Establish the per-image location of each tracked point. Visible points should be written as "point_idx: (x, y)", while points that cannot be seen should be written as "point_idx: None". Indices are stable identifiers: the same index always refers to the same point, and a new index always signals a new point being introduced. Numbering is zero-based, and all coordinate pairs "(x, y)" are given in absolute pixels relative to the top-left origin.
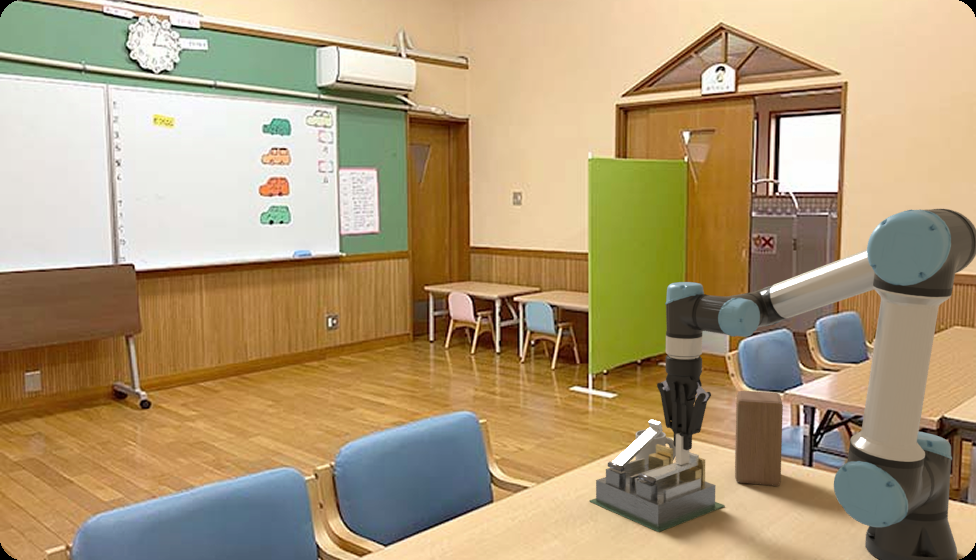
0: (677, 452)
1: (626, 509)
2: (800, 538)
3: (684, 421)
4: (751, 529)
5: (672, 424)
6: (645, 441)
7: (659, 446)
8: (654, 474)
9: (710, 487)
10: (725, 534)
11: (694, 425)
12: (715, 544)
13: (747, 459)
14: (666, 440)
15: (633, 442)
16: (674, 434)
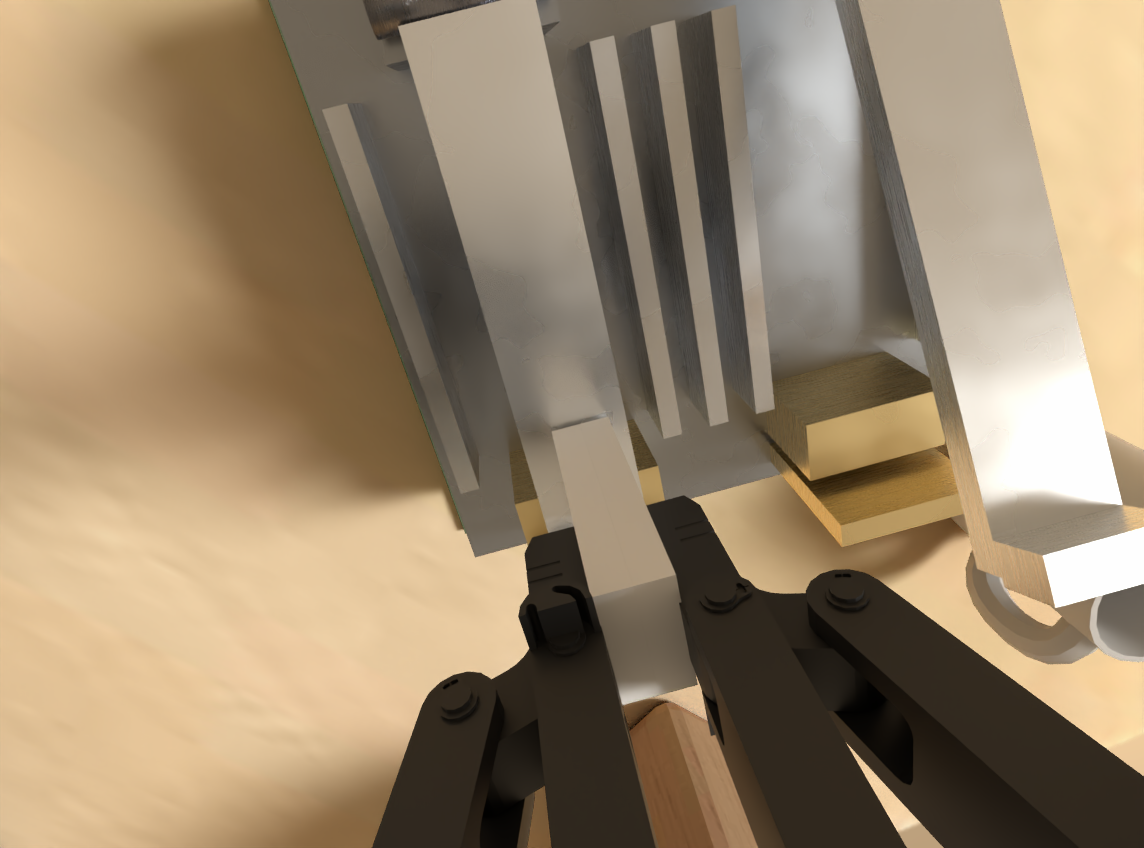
0: (606, 468)
1: None
2: (29, 621)
3: (583, 785)
4: (175, 494)
5: (781, 638)
6: (954, 319)
7: (947, 493)
8: (476, 94)
9: (462, 518)
10: (141, 347)
11: (384, 823)
12: (12, 215)
13: (659, 826)
14: (1072, 632)
15: (1051, 224)
16: (722, 571)
